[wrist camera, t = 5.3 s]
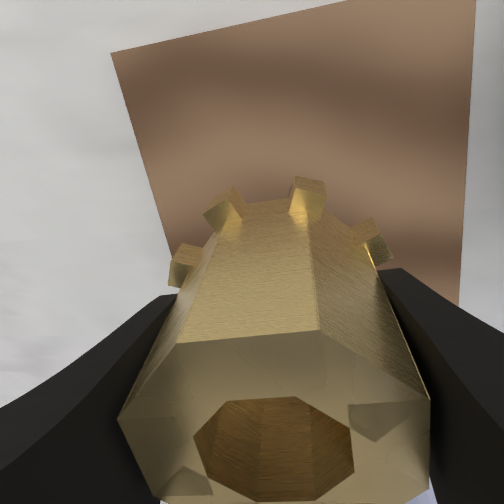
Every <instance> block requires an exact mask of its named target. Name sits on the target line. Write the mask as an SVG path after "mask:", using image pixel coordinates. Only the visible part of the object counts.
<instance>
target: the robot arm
mask: <svg viewBox="0 0 504 504" xmlns="http://www.w3.org/2000/svg"><path fill="white" fill-rule="evenodd" d="M377 273H378V275H379V278H380V280H381V283H382V285H383V287H384V290H385V292H386V294H387V297H388V299H389V302H390V304H391V306H392V309H393V311H394V313H395V316H396V318H397V321H398V323H399V325H400V328H401V330H402V333H403V335H404V337H405V340H406V342H407V344H408V347H409V349H410V352H411V354H412V356H413V359H414V361H415V364H416V366H417V368H418V371H419V373H420V375H421V378H422V380H423V383H424V385H425V387H426V390H427V392H428V395H429V397H430V399H431V401H430V461H429V488H430V489H428V490H426V491H425V492H423V493H422V494H420V495H418V496H417V497H415V498H413V499H412V500H410V501H409V502H407V503H405V504H504V333H502V332H500V331H499V330H497V329H495V328H493V327H492V326H490V325H488V324H486V323H485V322H483V321H481V320H479V319H478V318H476V317H474V316H472V315H471V314H469V313H468V312H466V311H464V310H463V309H461V308H459V307H458V306H456V305H455V304H453V303H452V302H450V301H449V300H447V299H446V298H444V297H443V296H441V295H440V294H438V293H437V292H435V291H434V290H432V289H431V288H429V287H428V286H427V285H425V284H424V283H422V282H421V281H419V280H418V279H417V278H415V277H414V276H412V275H411V274H410V273H408V272H407V271H405V270H404V269H402V268H394V269H386V270H377ZM177 295H178V294H171V295H162V296H159V297H157V298H156V299H154V300H153V301H151V302H150V303H149V304H147V305H146V306H145V307H144V308H142V309H141V310H140V311H138V312H137V313H136V314H135V315H133V316H132V317H131V318H130V319H129V320H127V321H126V322H125V323H124V324H122V325H121V326H120V327H119V328H117V329H116V330H115V331H114V332H112V333H111V334H110V335H109V336H107V337H106V338H105V339H103V340H102V341H101V342H99V343H98V344H97V345H95V346H94V347H93V348H91V349H90V350H89V351H87V352H86V353H85V354H83V355H82V356H81V357H79V358H78V359H77V360H75V361H74V362H73V363H71V364H70V365H69V366H67V367H66V368H64V369H63V370H61V371H60V372H58V373H57V374H55V375H54V376H52V377H51V378H49V379H48V380H46V381H45V382H43V383H42V384H40V385H38V386H37V387H35V388H34V389H32V390H31V391H29V392H27V393H26V394H24V395H22V396H21V397H19V398H17V399H16V400H14V401H12V402H10V403H9V404H7V405H5V406H3V407H1V408H0V504H160V501H161V500H160V499H158V498H156V497H153V495H152V492H151V490H150V488H149V486H148V484H147V482H146V480H145V478H144V476H143V473H142V471H141V469H140V467H139V465H138V463H137V461H136V459H135V457H134V454H133V452H132V450H131V448H130V446H129V444H128V442H127V440H126V437H125V435H124V433H123V431H122V429H121V427H120V425H119V423H118V421H117V418H118V416H119V414H120V412H121V410H122V408H123V406H124V404H125V402H126V400H127V398H128V395H129V393H130V391H131V389H132V387H133V385H134V383H135V381H136V379H137V377H138V375H139V373H140V371H141V369H142V367H143V365H144V363H145V361H146V359H147V356H148V354H149V352H150V350H151V348H152V346H153V344H154V342H155V340H156V338H157V336H158V334H159V332H160V330H161V328H162V326H163V324H164V322H165V320H166V318H167V316H168V314H169V313H170V310H171V308H172V306H173V304H174V302H175V300H176V298H177Z"/></svg>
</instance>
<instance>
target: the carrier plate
mask: <svg viewBox="0 0 504 504" xmlns="http://www.w3.org/2000/svg"><path fill="white" fill-rule="evenodd" d="M475 11H476V0H347V1H342V2H338V3H333V4H329V5H324V6H320V7H315V8H311V9H306V10H302V11H298V12H293V13H289V14H284V15H280V16H275V17H271V18H266V19H262V20H257V21H253V22H248V23H244V24H239V25H235V26H230V27H226V28H221V29H217V30H212V31H208V32H203V33H199V34H194V35H190V36H185V37H181V38H176V39H172V40H167V41H163V42H158V43H154V44H149V45H145V46H140V47H136V48H131V49H127V50H122V51H118V52H113V53H111V57H112V60H113V63H114V67H115V70H116V73H117V77H118V80H119V83H120V86H121V90H122V93H123V96H124V100H125V103H126V106H127V110H128V113H129V116H130V120H131V123H132V126H133V130H134V133H135V136H136V139H137V143H138V146H139V149H140V153H141V156H142V159H143V163H144V166H145V169H146V173H147V176H148V179H149V182H150V186H151V189H152V192H153V196H154V199H155V202H156V206H157V209H158V212H159V216H160V219H161V222H162V226H163V229H164V232H165V235H166V239H167V242H168V245H169V249H170V252H171V255H172V258H173V257H174V255H175V253H176V252H177V250H178V248H179V247H180V245H181V243H184V244H188V245H193V246H197V247H202V248H203V247H204V246H205V244H206V243H207V241H208V240H209V239H210V237H211V236H212V234H213V233H214V230H213V228H212V227H211V225H210V224H209V223H208V221H207V220H206V219H205V217H204V216H203V212H204V210H205V209H206V207H207V205H208V203H209V202H210V200H211V199H212V198H214V197H215V196H217V195H219V194H220V193H222V192H223V191H225V190H227V189H228V188H230V187H231V186H233V185H234V186H235V188H236V189H237V190H238V192H239V193H240V195H241V196H242V198H243V199H244V201H245V202H246V204H252V203H258V202H265V201H271V200H278V199H285V198H289V196H290V192H291V188H292V184H293V180H294V177H295V175H296V176H301V177H305V178H309V179H314V180H318V181H322V182H324V185H325V189H326V192H327V198H326V201H325V205H324V208H323V209H324V210H326V211H327V212H328V213H330V214H331V215H333V216H334V217H335V218H337V219H338V220H340V221H341V222H343V223H344V224H345V225H347V226H348V227H350V228H351V227H353V226H355V225H357V224H358V223H360V222H362V221H364V220H366V219H368V218H370V217H372V218H373V220H374V222H375V224H376V225H377V227H378V229H379V231H380V233H381V235H382V236H383V238H384V240H385V242H386V244H387V246H388V247H389V249H390V251H391V253H392V255H393V257H394V258H393V259H391V260H389V261H387V262H385V263H383V264H380V265H378V266H376V267H375V268H376V271H377V270H386V269H394V268H402V269H404V270H405V271H407V272H408V273H410V274H411V275H412V276H414V277H415V278H417V279H418V280H419V281H421V282H422V283H424V284H425V285H427V286H428V287H429V288H431V289H432V290H434V291H435V292H437V293H438V294H440V295H441V296H443V297H444V298H446V299H447V300H449V301H450V302H452V303H453V304H455V305H456V306H458V305H459V287H460V270H461V253H462V236H463V218H464V201H465V184H466V167H467V149H468V132H469V115H470V98H471V80H472V63H473V46H474V29H475Z"/></svg>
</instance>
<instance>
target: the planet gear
mask: <svg viewBox="0 0 504 504" xmlns="http://www.w3.org/2000/svg"><path fill="white" fill-rule="evenodd" d="M326 198H327V192H326V189H325V185H324V182H322V181H318V180H314V179H309V178H305V177H301V176H296V175H295V177H294V180H293V184H292V188H291V192H290V196H289V198H285V199H278V200H271V201H265V202H258V203H252V204H246V202H245V201H244V199H243V198H242V196H241V195H240V193H239V192H238V190H237V189H236V188H235V186H234V185H233V186H231V187H230V188H228V189H227V190H225V191H223V192H222V193H220V194H219V195H217V196H215V197H214V198H212V199H211V200H210V202H209V203H208V205H207V207H206V209H205V210H204V212H203V216H204V217H205V219H206V220H207V221H208V223H209V224H210V225H211V227H212V228H213V230H214V233H213V234H212V236H211V237H210V239H209V240H208V241H207V243H206V244H205V246H204V247H203V248H202V247H197V246H193V245H188V244H184V243H181V245H180V247H179V248H178V250H177V252H176V253H175V255H174V257H173V258H172V260H171V263H170V271H169V279H168V285H169V286H173V287H177V288H181V289H180V291H179V293H178V295H177V298H176V300H175V302H174V304H173V306H172V308H171V310H170V313H169V314H168V316H167V318H166V320H165V322H164V324H163V326H162V328H161V330H160V332H159V334H158V336H157V338H156V340H155V342H154V344H153V346H152V348H151V350H150V352H149V354H148V356H147V359H146V361H145V363H144V365H143V367H142V369H141V371H140V373H139V375H138V377H137V379H136V381H135V383H134V385H133V387H132V389H131V391H130V393H129V395H128V398H127V400H126V402H125V404H124V406H123V408H122V410H121V412H120V414H119V416H118V418H117V421H118V423H119V425H120V427H121V429H122V431H123V433H124V435H125V437H126V440H127V442H128V444H129V446H130V448H131V450H132V452H133V454H134V457H135V459H136V461H137V463H138V465H139V467H140V469H141V471H142V473H143V476H144V478H145V480H146V482H147V484H148V486H149V488H150V490H151V492H152V495H153V497H156V498H158V499H160V500H162V501H164V502H166V503H168V504H405V503H407V502H409V501H410V500H412V499H413V498H415V497H417V496H418V495H420V494H422V493H423V492H425V491H426V490H428V489H430V488H429V461H430V401H431V399H430V397H429V395H428V392H427V390H426V387H425V385H424V383H423V380H422V378H421V375H420V373H419V371H418V368H417V366H416V364H415V361H414V359H413V356H412V354H411V352H410V349H409V347H408V344H407V342H406V340H405V337H404V335H403V333H402V330H401V328H400V325H399V323H398V321H397V318H396V316H395V313H394V311H393V309H392V306H391V304H390V302H389V299H388V297H387V294H386V292H385V290H384V287H383V285H382V283H381V280H380V278H379V275H378V273H377V271H376V268H375V267H376V266H378V265H380V264H383V263H385V262H387V261H389V260H391V259H393V258H394V257H393V255H392V253H391V251H390V249H389V247H388V246H387V244H386V242H385V240H384V238H383V236H382V235H381V233H380V231H379V229H378V227H377V225H376V224H375V222H374V220H373V218H372V217H370V218H368V219H366V220H364V221H362V222H360V223H358V224H357V225H355V226H353V227H351V228H350V227H348V226H347V225H345V224H344V223H343V222H341V221H340V220H338V219H337V218H335V217H334V216H333V215H331V214H330V213H328V212H327V211H326V210H324V209H323V208H324V205H325V201H326Z"/></svg>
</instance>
